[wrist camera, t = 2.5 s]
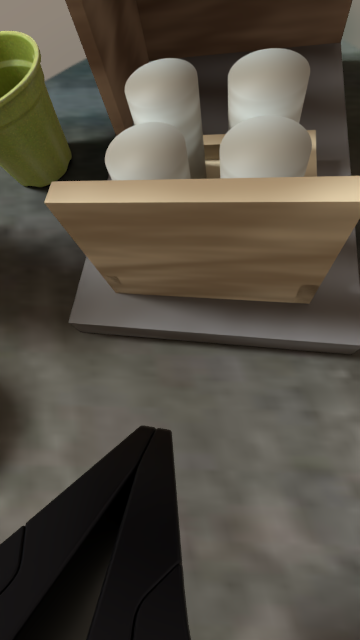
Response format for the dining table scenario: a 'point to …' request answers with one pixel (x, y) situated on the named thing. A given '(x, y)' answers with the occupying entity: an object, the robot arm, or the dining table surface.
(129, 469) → the robot arm
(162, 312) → the wooden display stand
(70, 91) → the dining table surface
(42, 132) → the plant pot
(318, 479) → the dining table surface
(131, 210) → the tray
